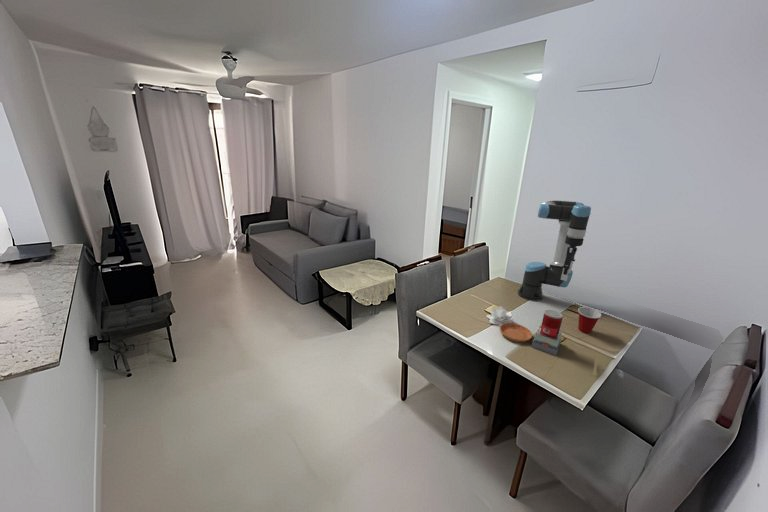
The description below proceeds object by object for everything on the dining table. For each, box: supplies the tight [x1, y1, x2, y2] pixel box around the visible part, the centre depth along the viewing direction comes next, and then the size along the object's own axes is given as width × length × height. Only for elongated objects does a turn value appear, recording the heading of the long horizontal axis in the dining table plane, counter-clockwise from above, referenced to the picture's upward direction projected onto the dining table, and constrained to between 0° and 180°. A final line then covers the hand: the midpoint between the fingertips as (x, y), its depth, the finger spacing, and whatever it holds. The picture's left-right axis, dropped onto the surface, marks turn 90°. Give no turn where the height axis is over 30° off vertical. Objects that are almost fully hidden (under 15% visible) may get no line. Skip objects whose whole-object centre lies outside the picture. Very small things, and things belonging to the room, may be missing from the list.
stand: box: [531, 325, 563, 356], centre depth 151 cm, size 13×11×7 cm
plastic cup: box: [577, 306, 602, 334], centre depth 165 cm, size 11×11×12 cm
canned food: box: [540, 309, 564, 337], centre depth 149 cm, size 8×8×11 cm
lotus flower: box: [485, 305, 515, 327], centre depth 173 cm, size 14×15×9 cm
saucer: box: [499, 322, 533, 343], centre depth 160 cm, size 16×16×3 cm
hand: (565, 276), depth 157 cm, fingers open, 13 cm apart
